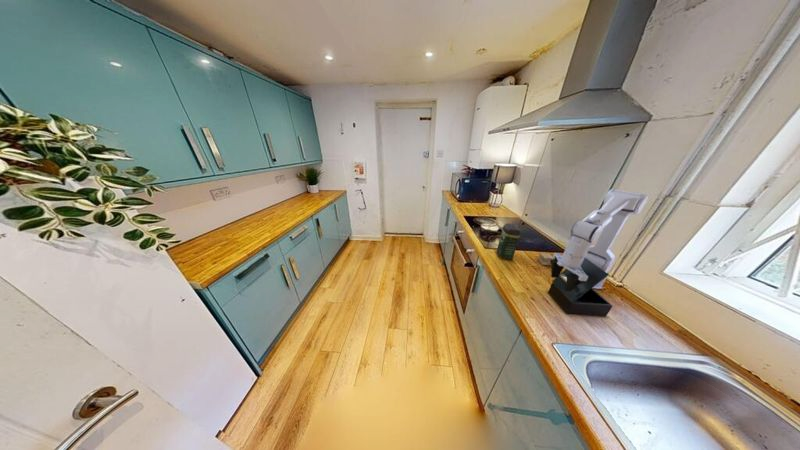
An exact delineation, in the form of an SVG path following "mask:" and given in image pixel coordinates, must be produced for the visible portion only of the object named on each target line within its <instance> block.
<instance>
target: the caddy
mask: <svg viewBox="0 0 800 450" xmlns="http://www.w3.org/2000/svg"><path fill="white" fill-rule="evenodd" d="M547 293H548V294H549V296H550V297H551V298H552V299H553V301H554V302H555V303H556V305H558V306H559V307H560V308H561V310H562V311H563V312H564V313H565V314H566V315H572V316H573V315H574V316H586V317H587V316H588V317H600V318H602V317H603V318H607V316H608V314H609V312H610V311H611V309H612V308H613V305H612V303H610V301H608V300H606V298H604V297H603V296H602V295H601V294H600V293H599V292H597V291H596V290H595V289H594V288H591V289H590V290H589V291H588V292H586V293H585V294H584V295H582V296H581V297H580V298H579V299H577V300H576V301H575V302H574V303H573V302H572V301H571V300H570V299H569V298H568V297H567V296H566V295H565V294H564V293H563V292H562V291H561V290H560V289H559V288H558V287H557V286H556V285H555V284H554V283H553V282H551V284H550V287H549V289H548V291H547Z"/></svg>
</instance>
